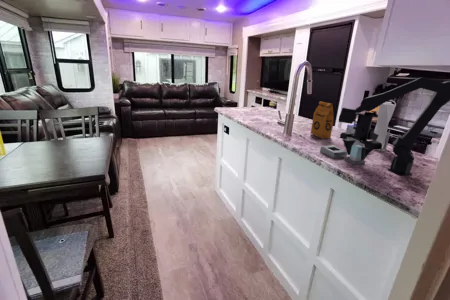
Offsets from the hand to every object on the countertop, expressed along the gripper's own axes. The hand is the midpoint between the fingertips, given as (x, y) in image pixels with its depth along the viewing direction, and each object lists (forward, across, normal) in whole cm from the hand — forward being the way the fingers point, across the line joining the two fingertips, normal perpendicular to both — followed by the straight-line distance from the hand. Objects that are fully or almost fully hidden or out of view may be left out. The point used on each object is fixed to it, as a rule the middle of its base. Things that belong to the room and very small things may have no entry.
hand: (355, 157), depth 111 cm
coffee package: (+2, +42, -14) cm, 44 cm away
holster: (+2, 0, 0) cm, 2 cm away
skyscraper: (+3, +14, -30) cm, 33 cm away
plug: (+2, 0, 0) cm, 2 cm away
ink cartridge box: (+2, +20, -19) cm, 28 cm away
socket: (+2, +11, +3) cm, 12 cm away
